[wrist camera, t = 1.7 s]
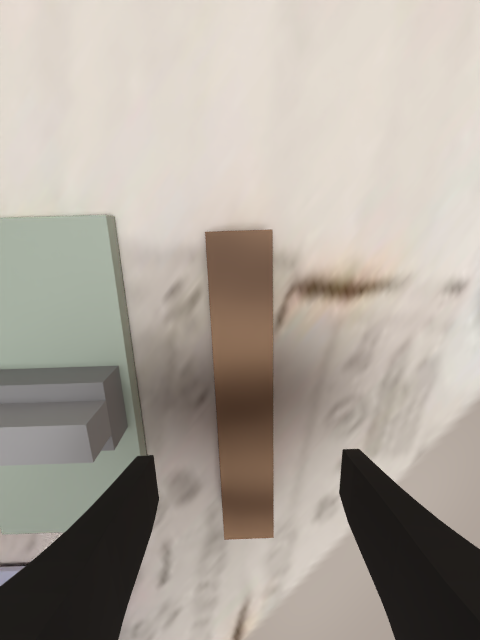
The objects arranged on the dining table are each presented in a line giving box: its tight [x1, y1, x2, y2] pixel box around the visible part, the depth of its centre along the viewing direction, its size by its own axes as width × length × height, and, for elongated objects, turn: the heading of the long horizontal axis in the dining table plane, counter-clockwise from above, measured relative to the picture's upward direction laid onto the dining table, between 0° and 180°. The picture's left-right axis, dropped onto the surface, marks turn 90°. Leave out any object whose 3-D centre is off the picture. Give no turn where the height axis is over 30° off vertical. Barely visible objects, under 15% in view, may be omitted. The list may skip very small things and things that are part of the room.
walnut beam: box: [205, 230, 274, 540], centre depth 17 cm, size 18×3×3 cm, turn 2°
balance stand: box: [0, 215, 147, 535], centre depth 15 cm, size 20×10×5 cm, turn 2°
